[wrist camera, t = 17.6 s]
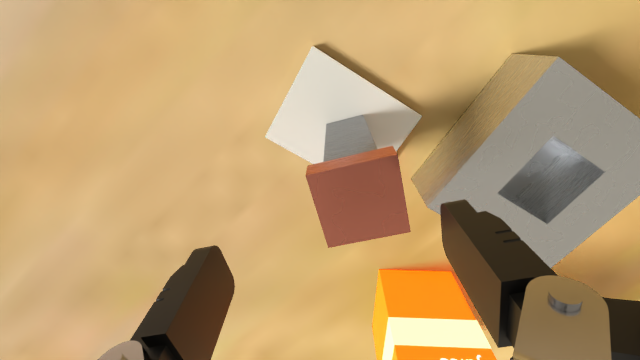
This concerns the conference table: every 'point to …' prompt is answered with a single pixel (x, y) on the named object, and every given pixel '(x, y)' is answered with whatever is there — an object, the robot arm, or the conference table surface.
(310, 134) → the pad
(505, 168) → the block
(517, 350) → the robot arm
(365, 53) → the conference table surface
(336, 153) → the key
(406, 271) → the orange juice
